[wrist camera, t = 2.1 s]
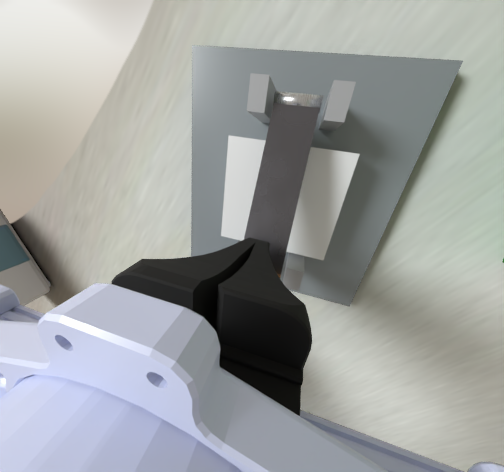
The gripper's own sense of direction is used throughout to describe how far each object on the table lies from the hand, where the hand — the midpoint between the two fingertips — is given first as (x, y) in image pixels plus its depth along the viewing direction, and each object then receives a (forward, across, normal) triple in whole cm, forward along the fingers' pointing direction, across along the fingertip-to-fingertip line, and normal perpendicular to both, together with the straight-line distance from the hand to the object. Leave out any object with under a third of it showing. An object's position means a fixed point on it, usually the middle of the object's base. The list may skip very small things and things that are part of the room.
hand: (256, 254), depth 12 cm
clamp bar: (+3, 0, -3) cm, 4 cm away
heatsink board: (+10, 0, -2) cm, 11 cm away
